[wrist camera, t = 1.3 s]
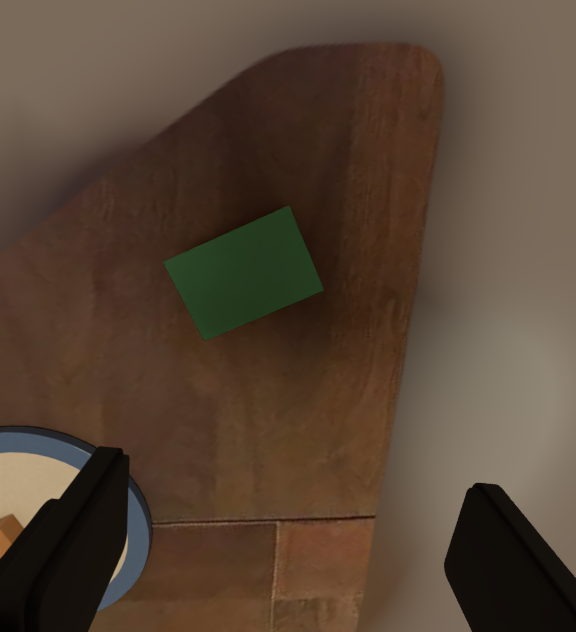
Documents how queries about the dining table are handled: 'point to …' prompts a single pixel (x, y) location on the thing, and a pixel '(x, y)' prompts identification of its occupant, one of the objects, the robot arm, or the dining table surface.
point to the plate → (51, 482)
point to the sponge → (245, 274)
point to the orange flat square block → (8, 532)
